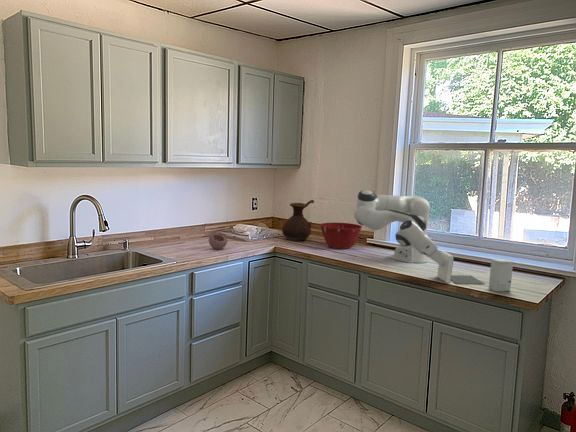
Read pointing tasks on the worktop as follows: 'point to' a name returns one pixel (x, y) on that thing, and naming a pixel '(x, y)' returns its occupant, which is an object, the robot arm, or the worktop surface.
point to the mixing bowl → (340, 234)
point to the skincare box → (500, 274)
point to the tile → (446, 267)
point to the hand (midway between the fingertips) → (442, 265)
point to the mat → (465, 279)
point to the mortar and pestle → (217, 240)
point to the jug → (297, 223)
